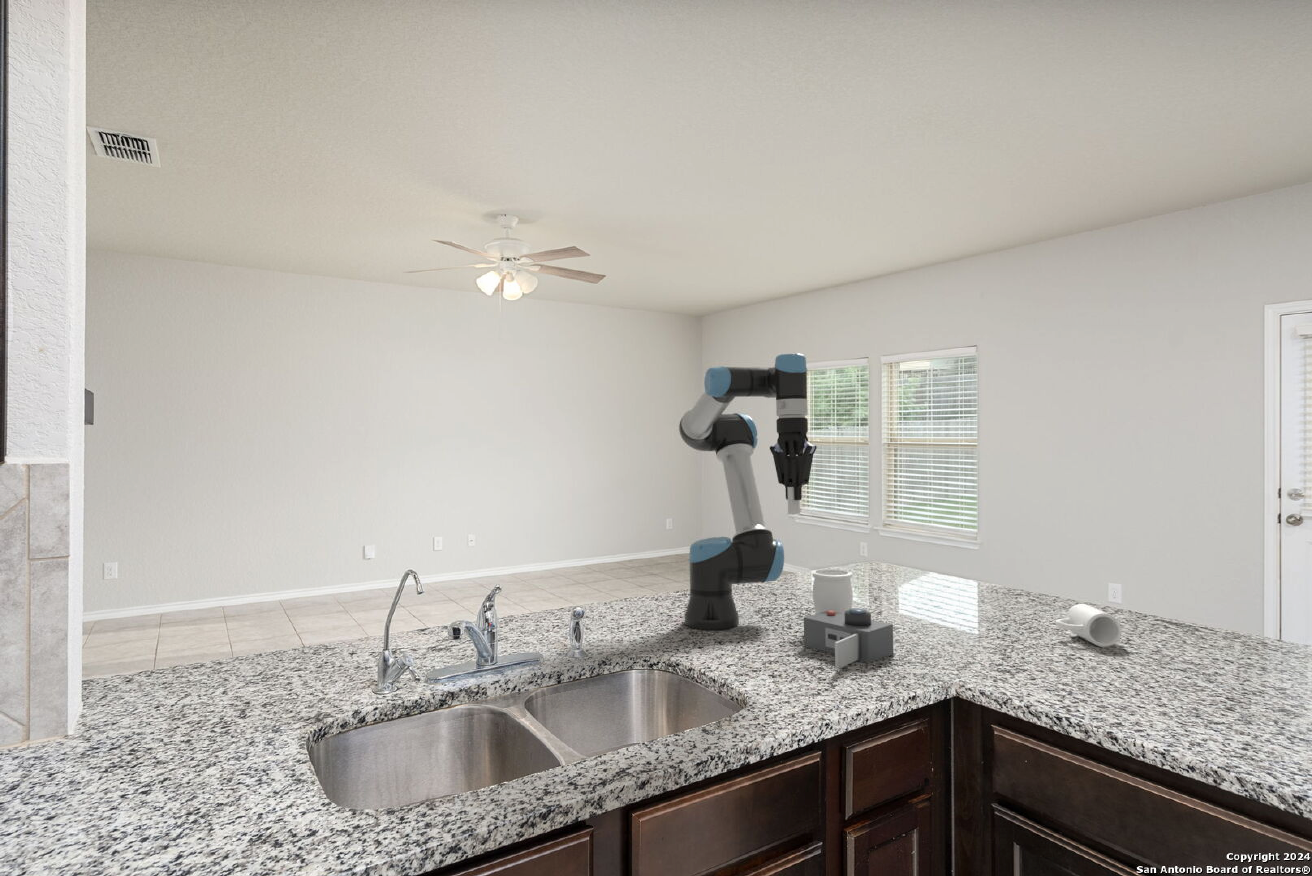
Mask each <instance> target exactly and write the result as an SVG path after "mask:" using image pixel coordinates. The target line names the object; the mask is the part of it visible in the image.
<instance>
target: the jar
mask: <svg viewBox="0 0 1312 876" xmlns="http://www.w3.org/2000/svg"><path fill="white" fill-rule="evenodd" d="M811 574H812V576H813V578H814V579H813V585H812V601H813V606H814V612H815V613H814V614H818V613H822V612H826V611H835V612H837V613H842V614H844V612H845V611H847V610H849V609H852V608H853V602H854V601H853V599H854V597H853V596H854V595H853V593H854V592H853V586H852V582H851V578H852V577H853V573H852V572H851V571H848V570H844V569H843V570H842V569H836V568H835V569H834V568H833V569H831V568H830V569H828V568H827V569H816V570H814V571H812V573H811Z"/></svg>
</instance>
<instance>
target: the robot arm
mask: <svg viewBox="0 0 1312 876" xmlns="http://www.w3.org/2000/svg"><path fill="white" fill-rule="evenodd" d="M806 358H807V357H806V356H805V355H804V354H802V353H784V354H783V353H782V354H778V355H777V356H776V357H775V360H774V366H773V367H759V366H757V367H753V366H752V367H744V366H743V367H741V366H739V367H737V366H736V367H735V366H734V367H733V366H717V367H716V366H714V367H709V368H708V369H707V370H706V372H705V376H704V380H703V381H704V383H703V385H704V391H703V393H702V395H700V397H699V398H698V400H697V401H696V402H695V404H694V405H693V407H692V409H690V410H688V411H686V412H685V413H684V415H683V416H682V417H681V419H680V422H679V425H678V428H679V429H678V430H679V434H680V437H681V439H682V441H683V442H684V443H685V444H686V445H688V447H690V448H692V449H694V450H697V451H700V452H715V456H716V459H717V460H718V461H719V462H721V463H722V466H723V471H724V477H725V481H726V486H727V493H728V497H729V503H730V508H731V513H732V519H733V524H734V528H735V534H734V535H733V537H732V538H730V537H727V536H716V537H714V536H713V537H708V538H703V539H700V540H696V541H694V542H692V544H691V545H690V547H689V555H688V556H689V557H688V563H689V593H690V594H689V600H688V603H687V606H686V611H685V612H684V616H683V617H684V624H685V626H687V627H690V628H692V629H696V630H697V629H698V630H706V631H715V630H716V631H717V630H719V631H720V630H726V629H727V630H728V629H732V628H735V627H737V626H738V625H739V623H740V614H739V612H738V611H737V608H736V604H735V600H734V598H733V585H739V584H740V585H741V584H755V583H756V584H757V583H762V584H765V583H767V582H768V583H769V582H775V581H777V580H779V578H780V577H781V575H782V573H783V570H784V565H785V550H784V549H785V548H784V545H783V543H782V542H781V540H779V539H778V538H776V539H775V538H774V536H773V532H772V531H771V530H770V529H768V528H767V527H766V525H765V524H766V523H765V521H764V515H763V511H762V506H761V501H760V497H759V492H758V487H757V483H756V478H755V473H754V470H753V469H754V468H753V465H752V460H751V457H752V455H753V454H754V451H755V449H756V447H757V445H758V440H759V439H758V430H757V426H756V423H755V422H754V420H753V418H752V417H751V416H750V415H748V414H745V413H737V412H734V413H731V414H730V413H724V411H725V410H726V409H727V408H728V406H729V405H730V404H731V402H732V401H733V400H734V399H735V398H738V397H739V398H740V397H760V398H761V397H763V398H768V399H769V398H773V399H774V398H775V405H776V408H775V409H776V413H775V414H776V416H777V417H778V418H777V419H776V433H777V434H778V436H777V437H778V438H777V440H776V443H775V444H774V445H771V446H770V445H769V450H770V453H771V454H772V457H773V461H774V462H773V463H774V467H775V470H776V471H775V472H776V476H777V480H778V481H777V482H778V484H780V485H783V486H784V487H785V499H786V500H787V515H798V514H801V505H800V504H801V500H802V499H803V498H802V497H803V496H802V495H803V494H802V493H803V492H802V487H803V486H805V485H808V484H809V483H810V482H809V481H810V476H811V471H812V465H813V461H814V460H813V458H814V454H815V452H816V450H817V448H818V447H817V445H816V444H812V443H810V441H809V437H808V435H807V433H808V431H809V425H808V423H809V421H808V418H807V417H806V416H808V415H809V413H808V412H809V411H808V380H807V379H808V378H807V377H808V373H807V372H808V368H807V359H806Z"/></svg>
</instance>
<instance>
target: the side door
mask: <svg viewBox="0 0 1312 876" xmlns="http://www.w3.org/2000/svg"><path fill="white" fill-rule="evenodd" d="M834 659H835V660H834V661H835V662H834V663H835V664H834V665H835V668H834V669H836V670H839V669H841V668H844V667H845V666H848V665H850V664H851V663H853V662H856V661H857V660H858V659H859V634H858V633H855V634H854V635H851V636H849V637H847V638H844V639H842V640H840V641H837V642H835V654H834Z"/></svg>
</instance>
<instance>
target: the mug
mask: <svg viewBox="0 0 1312 876" xmlns="http://www.w3.org/2000/svg"><path fill="white" fill-rule="evenodd" d="M1055 626H1056V627H1058V628H1060V629H1062V630H1067V631H1068V630H1069V631H1070V632H1071V633H1073V634H1074V635H1076V636H1078V637H1080V638H1081V639H1084V640H1086V641H1087V642H1089V643H1091V644H1093V645H1095V646H1097V647H1102V648H1109V647H1112V646H1113V645H1115V644H1117V643H1118V642H1119V641H1120V639H1121V637H1122V632H1123V631H1122V626H1121V623H1120V622H1119V620H1118V619H1117V618H1116V617H1115V616H1113V615H1112V614H1109V613H1107V612H1106V611H1102V610H1100V609H1099V608H1096V607H1093V606H1091V605H1089V604H1084V603H1080V604H1079V603H1078V604H1076V605H1073V606H1071V608H1069V609H1068V610H1067V611H1066V614H1065V617H1064V618H1059V619H1056V620H1055Z"/></svg>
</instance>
